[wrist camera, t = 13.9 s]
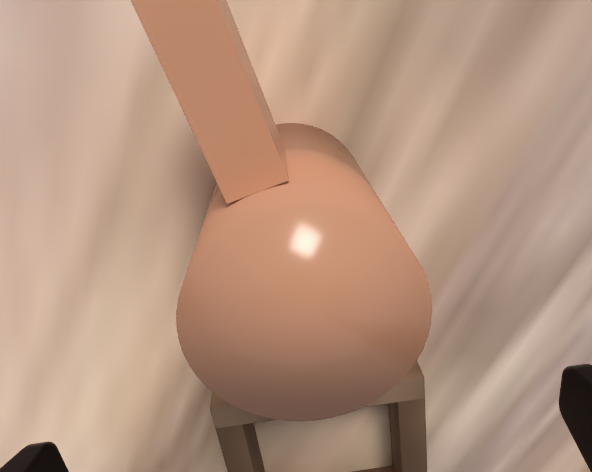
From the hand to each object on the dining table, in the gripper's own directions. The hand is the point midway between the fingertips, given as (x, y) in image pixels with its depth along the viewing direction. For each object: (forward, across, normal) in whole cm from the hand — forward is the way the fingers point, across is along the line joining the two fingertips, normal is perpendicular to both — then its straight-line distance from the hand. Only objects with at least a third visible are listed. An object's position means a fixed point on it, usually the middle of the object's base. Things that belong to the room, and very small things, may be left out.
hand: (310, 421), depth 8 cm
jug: (+12, 0, -2) cm, 12 cm away
